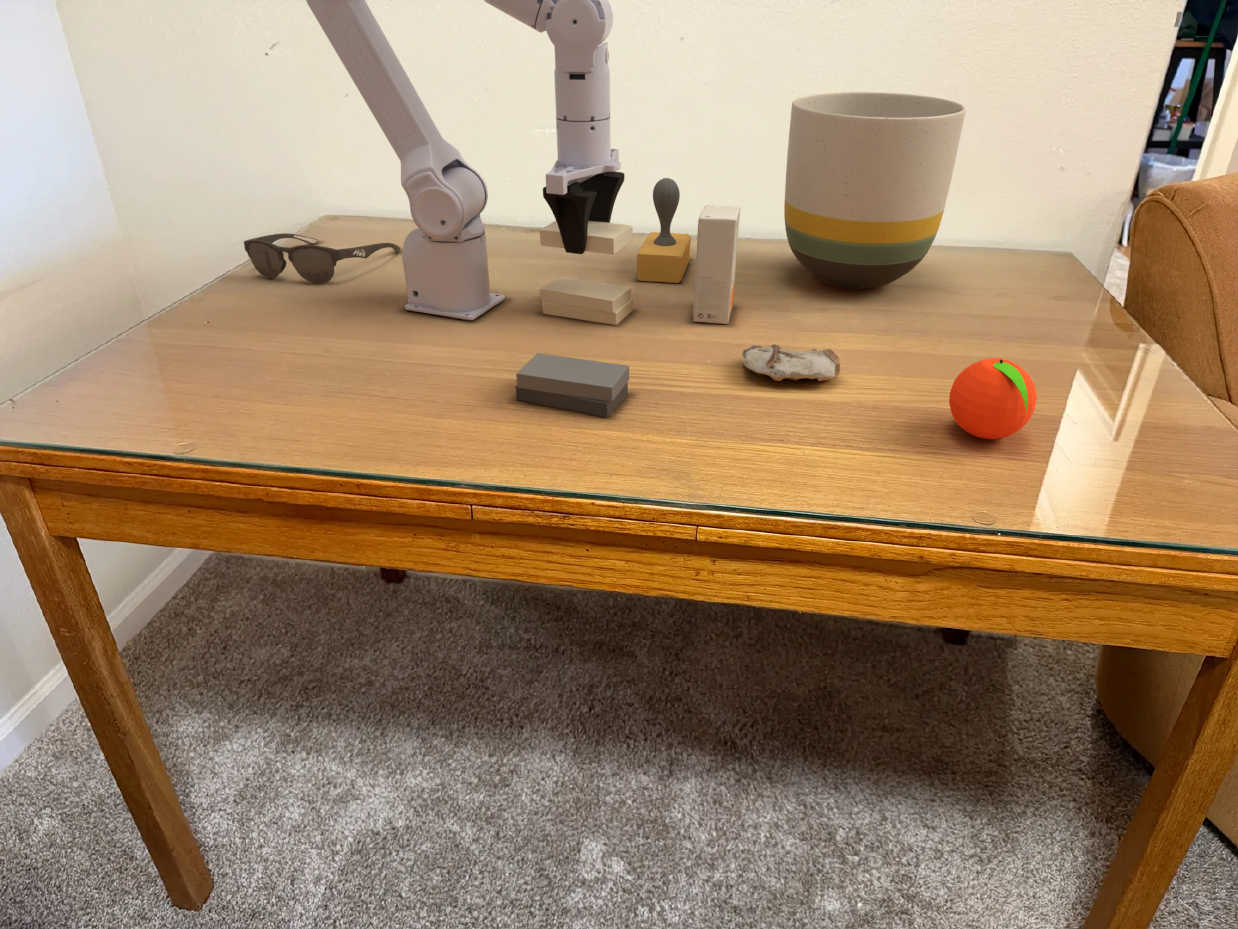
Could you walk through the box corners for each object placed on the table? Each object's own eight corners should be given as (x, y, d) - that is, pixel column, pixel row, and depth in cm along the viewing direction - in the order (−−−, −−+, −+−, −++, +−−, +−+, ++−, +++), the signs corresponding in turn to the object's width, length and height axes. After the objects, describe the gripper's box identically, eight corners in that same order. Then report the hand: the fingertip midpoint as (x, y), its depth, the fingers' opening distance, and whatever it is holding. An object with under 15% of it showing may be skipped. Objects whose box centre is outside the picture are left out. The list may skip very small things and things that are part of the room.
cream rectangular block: (540, 245, 95) (539, 229, 94) (561, 232, 100) (561, 217, 99) (613, 254, 92) (613, 238, 91) (632, 240, 97) (632, 225, 96)
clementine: (1050, 455, 72) (1073, 379, 68) (976, 464, 70) (996, 387, 67) (995, 412, 78) (1014, 340, 75) (927, 419, 77) (942, 347, 73)
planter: (866, 320, 98) (897, 124, 87) (744, 277, 111) (757, 102, 100) (961, 284, 108) (1000, 105, 97) (839, 249, 121) (861, 87, 110)
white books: (539, 314, 100) (537, 289, 98) (559, 299, 104) (558, 275, 103) (615, 326, 97) (615, 301, 95) (633, 310, 101) (633, 285, 99)
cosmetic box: (729, 325, 97) (736, 220, 90) (692, 322, 97) (696, 218, 91) (733, 306, 102) (741, 205, 96) (698, 304, 103) (703, 203, 96)
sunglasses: (233, 276, 111) (227, 238, 109) (311, 253, 126) (306, 219, 124) (343, 288, 107) (339, 248, 105) (410, 263, 122) (407, 228, 120)
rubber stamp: (680, 283, 109) (683, 188, 103) (636, 280, 110) (637, 186, 104) (690, 260, 117) (693, 170, 111) (648, 257, 118) (650, 168, 112)
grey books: (514, 401, 81) (512, 372, 79) (541, 377, 85) (540, 350, 83) (609, 420, 77) (609, 390, 76) (632, 394, 82) (632, 366, 80)
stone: (742, 388, 83) (744, 363, 81) (740, 357, 89) (742, 333, 88) (841, 392, 82) (845, 367, 81) (833, 360, 88) (836, 337, 87)
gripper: (588, 131, 82) (591, 268, 89) (643, 109, 93) (642, 232, 100) (524, 126, 84) (532, 260, 91) (585, 105, 96) (588, 225, 103)
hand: (586, 245), depth 96 cm, fingers closed on cream rectangular block, 5 cm apart
